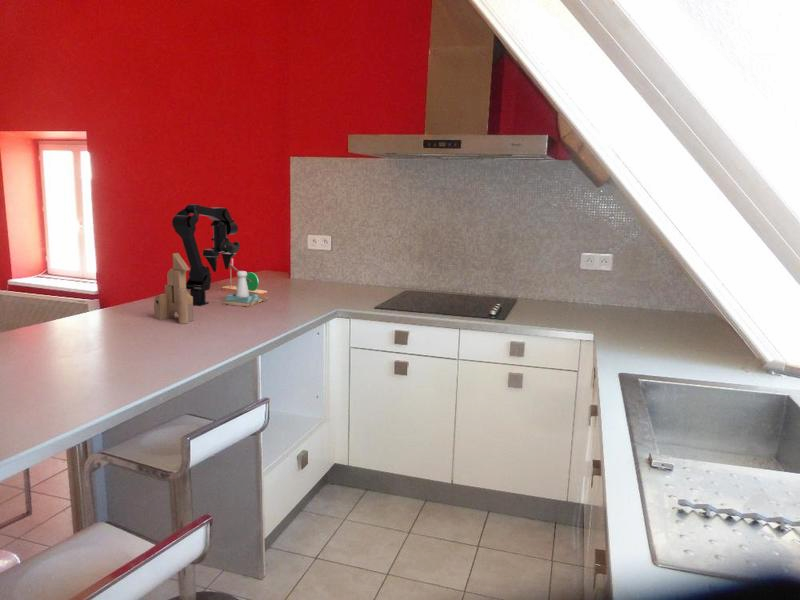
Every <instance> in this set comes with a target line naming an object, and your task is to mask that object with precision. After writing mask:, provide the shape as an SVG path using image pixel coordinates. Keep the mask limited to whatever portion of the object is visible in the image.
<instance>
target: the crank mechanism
mask: <svg viewBox="0 0 800 600" xmlns="http://www.w3.org/2000/svg"><path fill="white" fill-rule="evenodd" d="M234 254H236V255H237V253H234ZM228 269H229V275H230V276H229V277H230V278H229V281H230V282H229V283H230V284H229V285H226V286H221V290H222V289H224V290H223V291H226V290H233V291H236V290H237V285H232V269H233V270H234V271H236V273H237V272H238V271H239V270H238V269H237V268H236V267H235V266H234V258H233V257H232V258H231V261H230V264H229V268H228ZM246 281H247V286H248V291H249V293H252V294H264V293H267V294H268V291H267V290H264V289H258V288H259V281H260V280H259V278H258V275H257V274H255V273H254V272H247V276H246Z"/></svg>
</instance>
